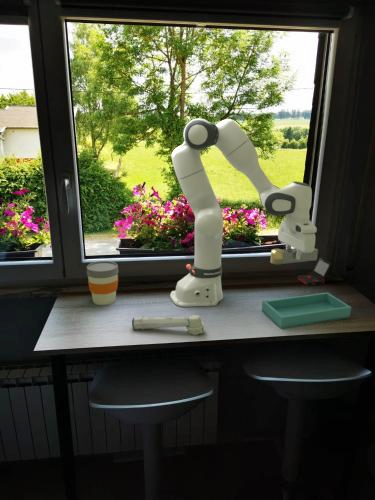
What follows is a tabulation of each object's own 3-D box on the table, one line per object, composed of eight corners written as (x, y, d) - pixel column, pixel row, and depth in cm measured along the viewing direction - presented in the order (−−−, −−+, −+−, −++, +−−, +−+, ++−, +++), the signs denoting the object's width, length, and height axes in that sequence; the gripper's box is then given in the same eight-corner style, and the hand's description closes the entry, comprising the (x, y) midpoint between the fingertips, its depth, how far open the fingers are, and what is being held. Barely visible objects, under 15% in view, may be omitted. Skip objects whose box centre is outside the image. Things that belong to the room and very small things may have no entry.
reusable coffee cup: (112, 291, 159) (111, 258, 155) (124, 302, 149) (123, 267, 145) (84, 297, 153) (81, 264, 148) (94, 309, 143) (92, 273, 138)
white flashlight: (134, 314, 132) (203, 310, 128) (137, 331, 134) (205, 327, 130) (130, 321, 127) (202, 317, 123) (133, 338, 129) (204, 335, 125)
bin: (280, 329, 131) (281, 317, 130) (261, 311, 144) (262, 301, 142) (349, 317, 140) (351, 307, 138) (325, 302, 152) (327, 292, 151)
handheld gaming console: (296, 278, 177) (298, 258, 174) (317, 276, 181) (320, 256, 178) (307, 285, 169) (310, 265, 166) (329, 283, 172) (332, 263, 169)
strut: (310, 256, 154) (311, 245, 152) (317, 260, 149) (318, 248, 148) (268, 261, 148) (269, 249, 146) (274, 264, 143) (275, 252, 142)
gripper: (275, 218, 152) (272, 250, 156) (305, 230, 134) (301, 266, 138) (289, 217, 154) (285, 248, 158) (319, 229, 136) (315, 264, 140)
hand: (293, 257), depth 148 cm, fingers closed on strut, 4 cm apart
